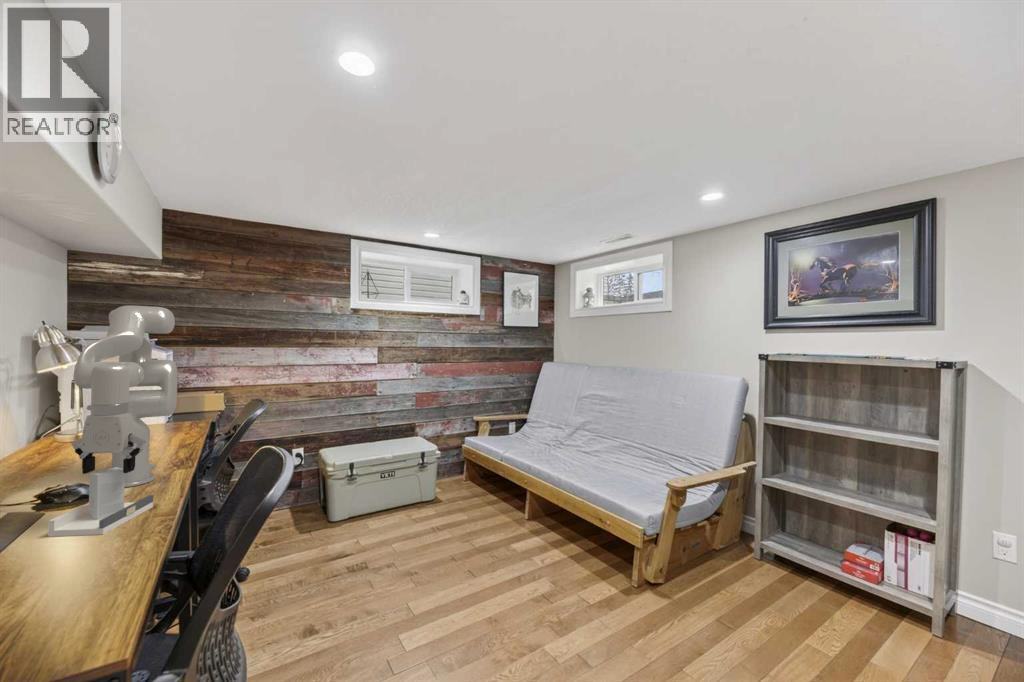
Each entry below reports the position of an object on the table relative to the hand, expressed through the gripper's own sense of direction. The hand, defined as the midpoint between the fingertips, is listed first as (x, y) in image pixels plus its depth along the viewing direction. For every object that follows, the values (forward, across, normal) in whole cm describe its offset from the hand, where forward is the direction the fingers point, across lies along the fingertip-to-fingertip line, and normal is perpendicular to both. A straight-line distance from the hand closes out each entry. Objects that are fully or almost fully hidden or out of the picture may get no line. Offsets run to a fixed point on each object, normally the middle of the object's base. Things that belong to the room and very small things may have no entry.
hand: (108, 471), depth 114 cm
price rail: (+11, +6, -1) cm, 13 cm away
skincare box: (+12, 0, -1) cm, 12 cm away
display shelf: (+13, 0, -1) cm, 13 cm away
